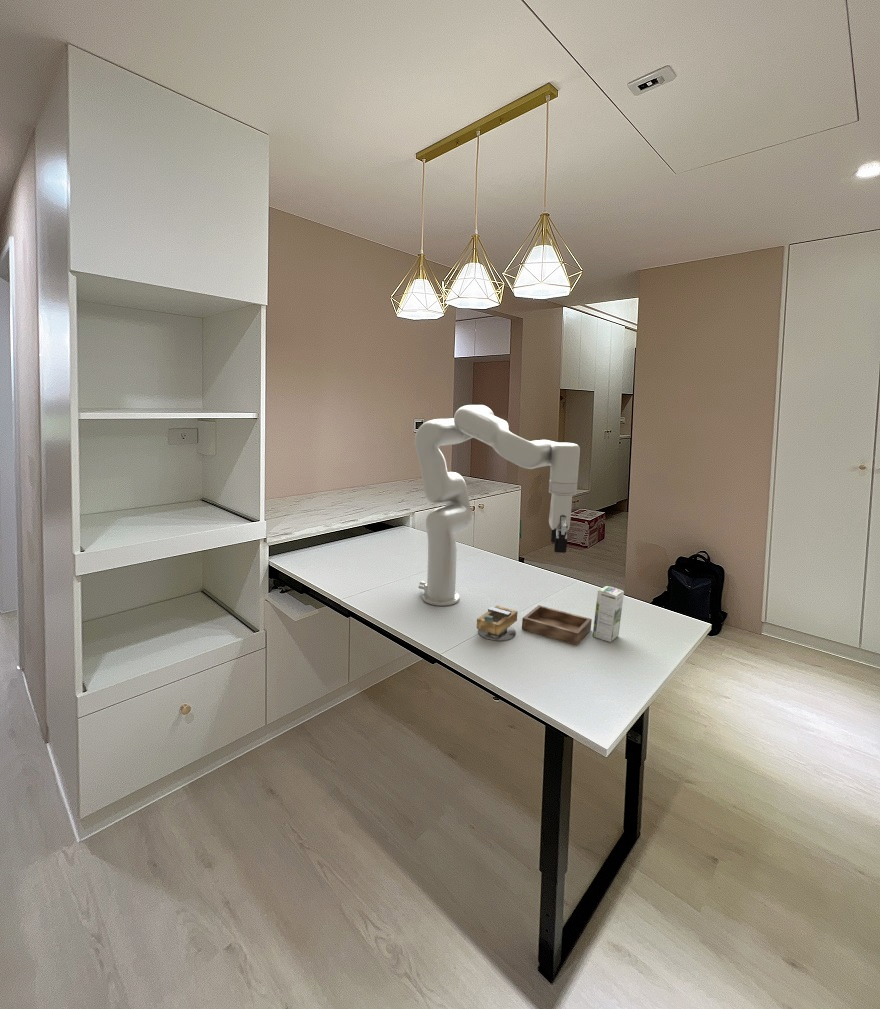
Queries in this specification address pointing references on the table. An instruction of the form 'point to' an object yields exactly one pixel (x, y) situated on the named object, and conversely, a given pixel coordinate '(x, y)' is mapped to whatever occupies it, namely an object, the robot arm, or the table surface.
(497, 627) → the light wooden frame
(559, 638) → the tray
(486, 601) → the table surface
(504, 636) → the door handle
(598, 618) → the syrup box
